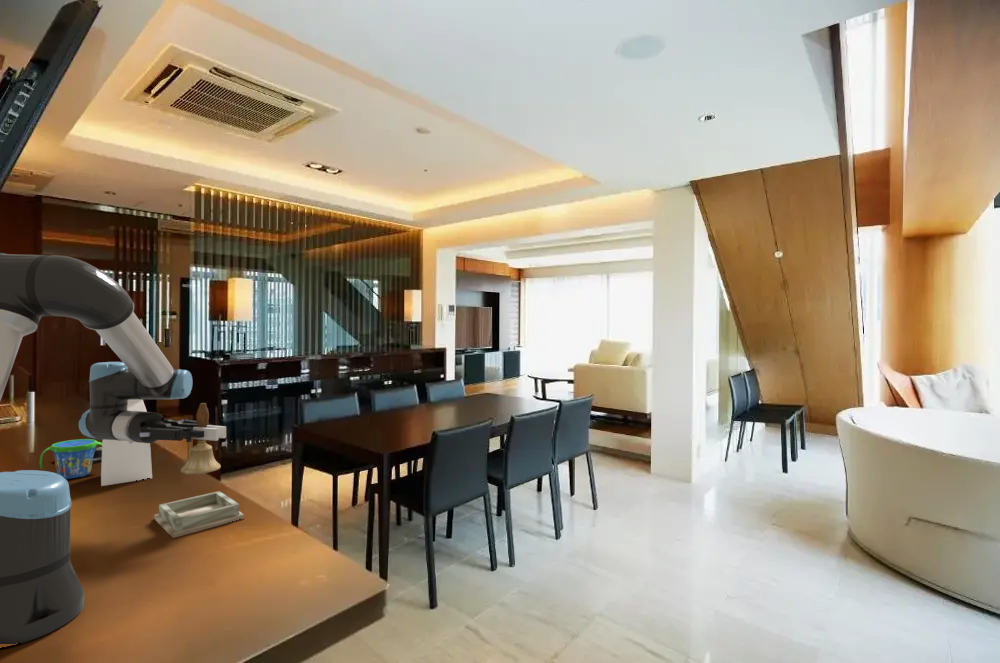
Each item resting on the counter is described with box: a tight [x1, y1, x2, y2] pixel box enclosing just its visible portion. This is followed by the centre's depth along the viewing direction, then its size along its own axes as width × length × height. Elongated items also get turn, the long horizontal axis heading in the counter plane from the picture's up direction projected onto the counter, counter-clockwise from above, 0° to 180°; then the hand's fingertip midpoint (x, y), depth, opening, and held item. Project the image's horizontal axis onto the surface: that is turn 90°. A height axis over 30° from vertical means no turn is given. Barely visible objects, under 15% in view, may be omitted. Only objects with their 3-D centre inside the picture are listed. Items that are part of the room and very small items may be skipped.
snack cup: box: [39, 438, 102, 480], centre depth 151 cm, size 16×10×10 cm
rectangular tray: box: [153, 490, 245, 539], centre depth 121 cm, size 15×15×4 cm
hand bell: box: [180, 402, 222, 475], centre depth 120 cm, size 8×8×16 cm
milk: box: [100, 399, 153, 487], centre depth 150 cm, size 12×12×26 cm
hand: (221, 433), depth 119 cm, fingers closed on hand bell, 2 cm apart
